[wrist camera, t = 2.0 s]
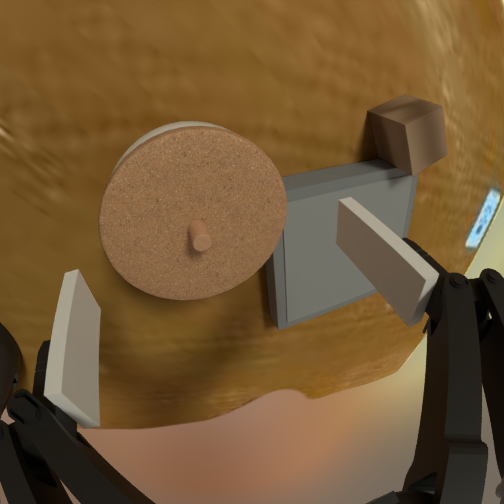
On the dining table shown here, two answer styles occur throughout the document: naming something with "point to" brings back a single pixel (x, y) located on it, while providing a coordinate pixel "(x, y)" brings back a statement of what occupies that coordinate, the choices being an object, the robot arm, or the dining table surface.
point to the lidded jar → (191, 211)
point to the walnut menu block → (409, 133)
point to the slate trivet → (330, 237)
